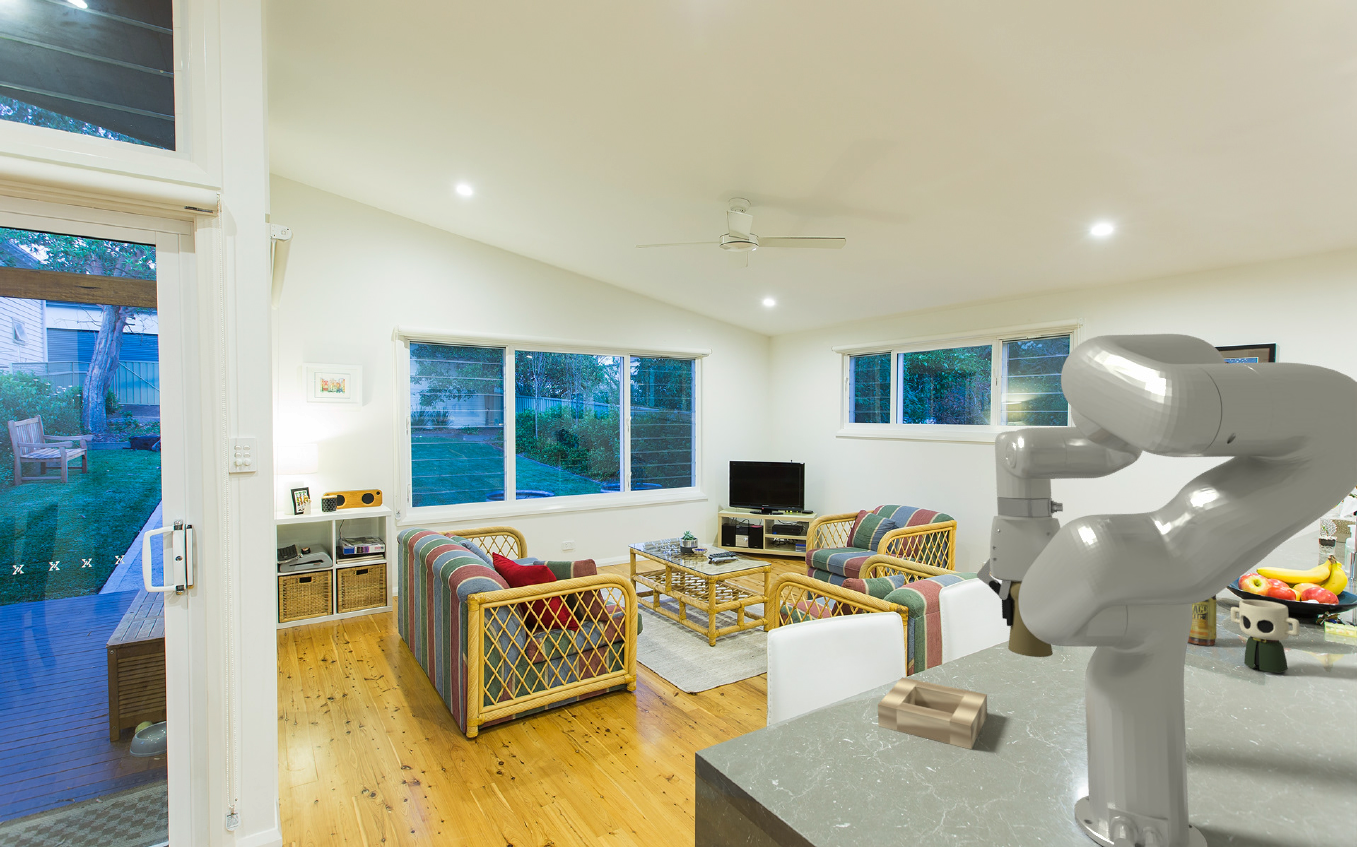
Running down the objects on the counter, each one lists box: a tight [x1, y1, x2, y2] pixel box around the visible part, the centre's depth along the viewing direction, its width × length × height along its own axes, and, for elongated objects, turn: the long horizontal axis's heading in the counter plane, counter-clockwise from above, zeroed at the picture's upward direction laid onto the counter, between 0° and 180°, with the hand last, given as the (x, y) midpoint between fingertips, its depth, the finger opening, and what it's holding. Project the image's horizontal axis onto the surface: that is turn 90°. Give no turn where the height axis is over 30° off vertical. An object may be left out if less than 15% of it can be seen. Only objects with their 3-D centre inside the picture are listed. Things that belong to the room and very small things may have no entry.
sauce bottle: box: [1188, 594, 1218, 647], centre depth 140 cm, size 6×6×20 cm
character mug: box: [1230, 599, 1301, 673], centre depth 124 cm, size 11×7×13 cm, turn 22°
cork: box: [1007, 582, 1054, 658], centre depth 97 cm, size 6×6×11 cm
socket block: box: [877, 677, 988, 750], centre depth 104 cm, size 14×14×4 cm
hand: (1029, 625), depth 97 cm, fingers closed on cork, 4 cm apart
